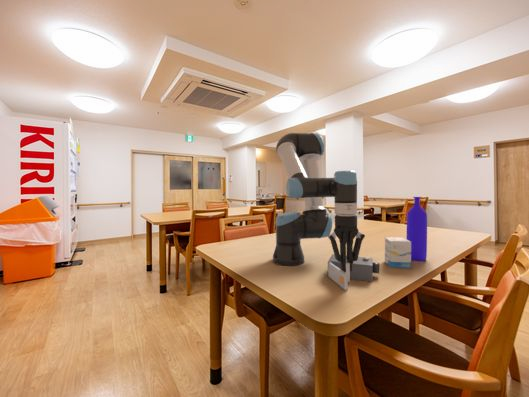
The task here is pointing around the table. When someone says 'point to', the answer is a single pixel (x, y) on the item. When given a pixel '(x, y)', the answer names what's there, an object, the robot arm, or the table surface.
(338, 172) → the robot arm
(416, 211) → the bottle
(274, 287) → the table surface
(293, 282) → the table surface
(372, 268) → the camera box
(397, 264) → the ink box
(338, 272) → the side door
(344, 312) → the table surface
